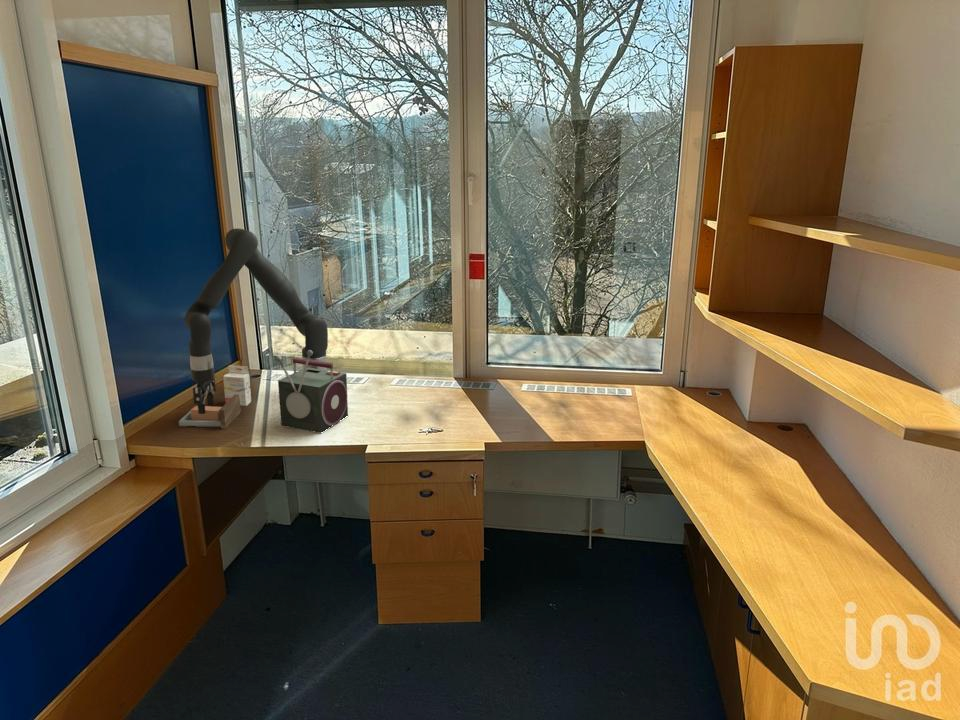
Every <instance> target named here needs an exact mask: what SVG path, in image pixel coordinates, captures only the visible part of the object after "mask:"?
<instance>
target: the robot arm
mask: <svg viewBox="0 0 960 720" xmlns="http://www.w3.org/2000/svg"><path fill="white" fill-rule="evenodd" d="M224 242H225V246H226V248H227V249H228V254H227V256H226V257H225V259H224V260H223V262H222V263H221V264H220V266H219V268H217V269H216V271H215V272H214V273H213V274H212V275H211V276H210V278H208V280H207V281H206V283H205V285H204V287H203V289H202V290H201V292H200V294H199V296H198V297H197V298H196V300H194V301H193V303H192V304H191V305H190V307H189V308H188V309H187V311H186V312H185V314H184V316H183V317H184V318H183V322H184V324H185V326H186V327H187V328H188V329H189V330H190V331H189V332H190V340H189V341H188V350H189V365H190V372H191V373H190V374H191V379H192V381H193V382H195V383H196V387H193V388H192V393H193V395H192V396H193V403H194V405H197V406H198V412H199V414H205V406H206V405H205V402H206V401H207V402H206V403H207V406H214V405H215V396H214V395H215V392H216V391H217V388H216V386H217V385H216V379H215V377H216V376H215V368H214V359H213V355H212V343H211V338H212V337H211V335H212V323H211V319H210V317H209V315H210V314H211V312H212V311H213V310H215V309H217V308H218V307H219V305H220V303H221V302H222V300H223V299H224V297H225V295H226V293H227V292H228V290H229V288H230V287H231V284H232V283H233V282H234V280H235V278H236V276H238V274H239V273H240V271H242V270H241V269H242V268H243V267H244V266H245V267H246V268H247V269H248V270H249V272H250V274H251V275H252V276H253V277H254V278H255V280H256V281H257V282H258V284H259V285H260V287H262V289H263V290H264V291H265V293H266V294H267V295H268V296H269V297H270V299H271V300H272V301H274V303H275V304H276V305H277V306H278V307H279V308H280V309H281V310H282V311H283V312H284V313H285V314H286V315H287V317H289V319H290V320H291V322H292V324H293V325H294V327H296V329H297V331H298V332H299V334H301V335H302V336H304V338H305V340H304V341H305V343H304V345H305V346H304V347H303V348H302V349H301V358H302V359H307V357H308V355H307V351H308V350H311V351H312V352H313V354H312V355H311V356H310V358H309V360H315V361H322V362H327V350H328V348H329V347H328V346H329V342H328V341H329V338H328V337H329V332H328V324H327V322H326V320H325V319H324V318H322V317H321V316H318V315H316V314H314V313H312V312H311V311H310V310H309V309H308V307H306V306H305V304H304V303H303V302H302V301H301V299H300V297H299V295H298V292H297V290H296V289H295V287H294V285H293V283H292V282H291V281H290V280H289V278H287V276H286V275H285V274H284V273H283V272H282V271H281V269H279V267H277V266H276V265H275V264H274V263H272V262H271V261H270V260H269V259H267V257H265V256H264V255H263V254H262V253H261V251H260V250H259V249H258V246H259V241H258V238H257V236H256V234H254V233H253V232H252V231H250V230H249V229H248V230H247V229H245V228H244V229H243V228H231V229H230V230H228V231H227V233H226V235H225V236H224ZM304 367H305V364H302V369H304ZM307 367H309V368H315V369H322V370H328V368H325V367H318V366H311V365H307Z"/></svg>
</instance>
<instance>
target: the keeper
mask: <svg viewBox="0 0 960 720" xmlns="http://www.w3.org/2000/svg"><path fill="white" fill-rule="evenodd" d="M178 426H179V427H187V426H196V428H197V427H201V428H203V427H204V428H221V422H220V421H200V420H192V418H191V410H190V411H188V412H187V413H186V414H185V415H184V416H183V417H181V418H180V419H179V420H178Z"/></svg>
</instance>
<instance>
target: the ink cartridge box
mask: <svg viewBox="0 0 960 720" xmlns="http://www.w3.org/2000/svg"><path fill="white" fill-rule="evenodd" d="M227 368H228V369H227V370H228V373H226V374H224V375H223V376H222V378H223V391H224V400H225V404H226V403H227V402H228V401H229V400H230V399H231V398H232V397H233V396H234V395H235V394H239V397H240V407H247V406H248V405H249V404H250V403H251V402H252V393H251V380H250V379H251V378H250V373H249V367H248V366H245V365H244V366H243V365H231V364H229V365H228V366H227ZM225 404H224V405H225Z"/></svg>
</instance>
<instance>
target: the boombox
mask: <svg viewBox="0 0 960 720" xmlns="http://www.w3.org/2000/svg"><path fill="white" fill-rule="evenodd" d="M312 354H313V352H312V351H311V350H308V351H307V355H308V357H307V359H302V357H301V358H300V357H293V356H292V366H293V373H291V374H289V373H288V371H287V368H286V367H285V365H284V363H283V361H282V360H283V357H282V356H281V355H277V356H276V357H275V360H276V362H279V364H280V366H281V368H282V370H283V371H284V374H285V377H282V378H281V379H278V380H277V385H278V386H277V388H278V397H279V398H278V400H279V402H278V403H279V415H280V426H281V427H285V428H286V427H287V428H292V429H296V430H301V429H302V431H307V430H308V432H312V431H315V432H314V433H317V432H323V431H325V430H326V429H328V428H329V427H331V426H332V425H334V426H336V425H337V424H339V423H340V422H339V421H340V420H342V419H343V418H345V417H346V416H348V417H349V407H348V405H349V404H348V382H347V381H348V380H347V379H348V378H347V375H348V374H347V373H346V372H341V371H338V370H333V368H334V364H333V362H329V361H326V362H322V361H315V360H309V358H310V356H311V355H312ZM297 364H299V365H303V364H305V367H304V369H303V368H302V369H300V370H298V371H297ZM307 365H311V366H318V367H325V368H327V370H322V369H315V368H309V367H307ZM328 369H329V370H328ZM345 419H346V418H345ZM342 421H343V420H342ZM338 422H339V423H338ZM336 423H337V424H336ZM335 424H336V425H335ZM331 428H332V427H331ZM328 430H329V429H328ZM326 431H327V430H326ZM326 431H325V432H326ZM323 433H324V432H323Z"/></svg>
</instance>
